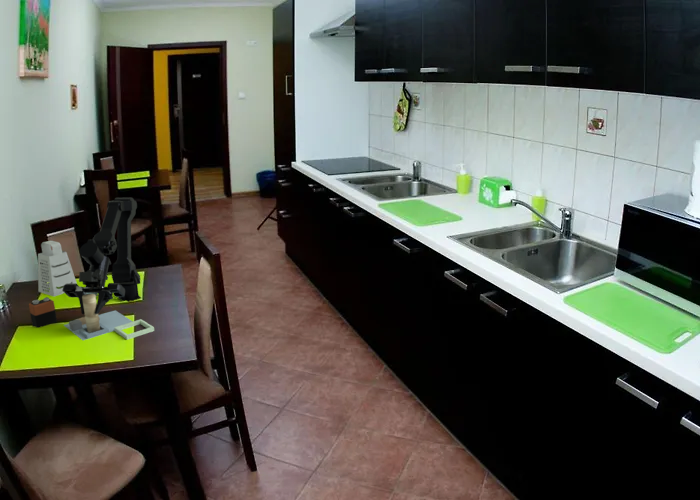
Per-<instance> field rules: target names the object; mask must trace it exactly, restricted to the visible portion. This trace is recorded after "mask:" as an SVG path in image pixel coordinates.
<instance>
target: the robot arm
mask: <svg viewBox="0 0 700 500" xmlns="http://www.w3.org/2000/svg"><path fill="white" fill-rule="evenodd" d="M106 205H107V206H106V208H107V209H106V212H105V215H104V219H103V222H102V224H101V229H100V231H98V232H97V233H95V235H94V237H93V238H92V239H88V240H87V242H86V243H83V245H81V247H80V248H79V254H80V256H81V257H82V258H83V259H84V261H86V263H87V264H89V265H90V266H89V269H88V270H86V271H79V273H78V274H79V276H78V282H80V283H82V285H83V286H79V284H78V283H77V282H76V283H77V284H76V283H73V284H65V285H64V286H62V288H63V290H62V291H63V292H64V293H63V294H65V295H66V296H67V297H68V298H78V301H79V306H80V312H81V315H84V316H85V313H84V306H83V300H82V296H83V295H86V294H87V293H98V295H97V297H98V298H97V300H96V303H97V305H96V309H95V314H98V315H99V313H100V311H101V310H102V309H103V308H104V307H105V305H107V304H108V302H109V301H110V300H113V299H114V297H115V298H118V300H120V301H121V302H131V301H136V300H139V299H141V298H142V297H141V296H140V294H139V287H138V285H139V284H141V275H140V273H138V271H137V270H136V269H137V268H136V264H135V263H134V261H133V260H132V220H133V219H134V217H135V216H136V214H137V213H136V210H137V208H138V203H137V200H135V199H134V198H133V197H115V198H114V200H110V201H108V202H107V204H106ZM116 232H117V239H115V237H116V236H115V235H116ZM116 250H117V259H116V261H115V262H113V264H112V262H111V259H110V258H109V256H107V255H113V254H114V253H115V251H116ZM109 266H111V267H112V271H111V278H112V282H108V284H107V286H106V281H108V279H109V277H108V270H109ZM113 296H114V297H113Z"/></svg>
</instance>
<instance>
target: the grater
mask: <svg viewBox="0 0 700 500" xmlns="http://www.w3.org/2000/svg"><path fill="white" fill-rule="evenodd" d="M40 247H41V252H40V253H38V254H37V260H38V261H37V263H38V264H37V270H38V272H37V273H38V279H37V280H38V285H37V286H38V293H41V294H45V295H49V296H50V297H56V296H60V295H63V294H65V293H64V292H63V291H62V290H63V286H64V285H65V284H73V283H76V284H77V285H78V283H77V280H76V277H75V275H74V270H73V267H72V265H71V261H70V259H69V256H68V251H65V250H63V249H62V244H61V243H60V242H59V241H54V240H48V241H43V242H42V243H40Z"/></svg>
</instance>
